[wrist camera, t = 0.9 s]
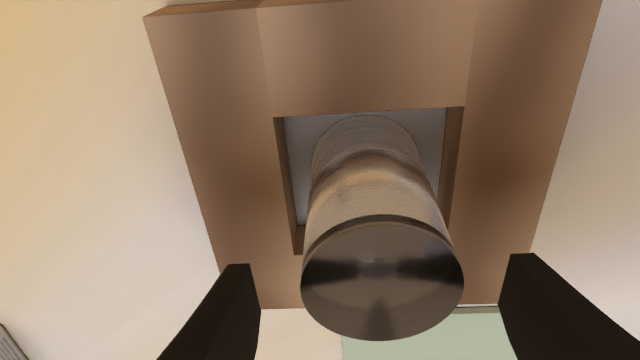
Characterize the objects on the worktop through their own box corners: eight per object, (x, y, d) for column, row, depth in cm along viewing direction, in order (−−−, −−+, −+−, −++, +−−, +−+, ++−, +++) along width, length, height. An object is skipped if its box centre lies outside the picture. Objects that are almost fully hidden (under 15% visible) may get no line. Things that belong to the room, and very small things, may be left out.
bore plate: (571, -27, 12) (608, -20, 11) (499, 271, 20) (514, 303, 18) (166, 6, 13) (142, 17, 12) (239, 279, 21) (231, 309, 19)
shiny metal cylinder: (421, 111, 15) (474, 225, 9) (414, 203, 18) (454, 339, 12) (307, 118, 16) (291, 232, 10) (316, 207, 18) (307, 342, 12)
